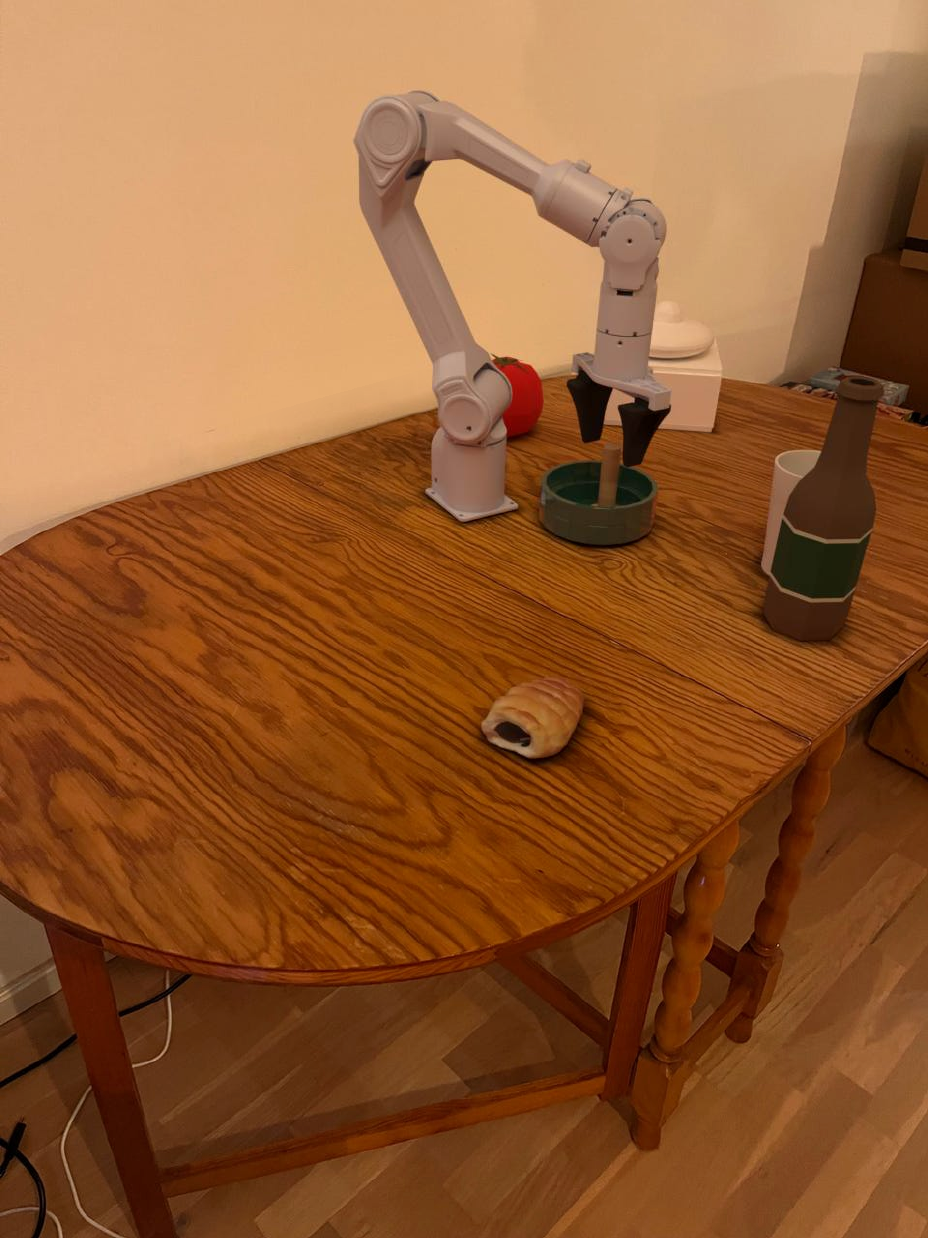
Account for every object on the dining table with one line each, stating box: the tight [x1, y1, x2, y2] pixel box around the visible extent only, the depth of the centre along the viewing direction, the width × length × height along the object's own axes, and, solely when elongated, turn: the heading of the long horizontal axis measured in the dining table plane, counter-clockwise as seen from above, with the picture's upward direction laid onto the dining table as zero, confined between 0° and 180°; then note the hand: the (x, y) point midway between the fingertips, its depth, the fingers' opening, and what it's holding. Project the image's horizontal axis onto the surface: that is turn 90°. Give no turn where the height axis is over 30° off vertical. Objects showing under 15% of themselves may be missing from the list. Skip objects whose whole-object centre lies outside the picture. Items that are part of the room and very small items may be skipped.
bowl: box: [538, 459, 659, 546], centre depth 105 cm, size 13×13×5 cm
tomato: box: [491, 353, 545, 438], centre depth 128 cm, size 13×12×11 cm
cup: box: [760, 449, 822, 576], centre depth 95 cm, size 8×8×12 cm
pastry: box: [480, 675, 585, 759], centre depth 74 cm, size 9×7×4 cm
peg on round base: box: [590, 442, 623, 507], centre depth 104 cm, size 4×4×9 cm
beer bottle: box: [762, 375, 885, 642], centre depth 83 cm, size 8×8×24 cm
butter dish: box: [604, 300, 723, 433], centre depth 136 cm, size 18×18×16 cm
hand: (611, 452), depth 102 cm, fingers open, 7 cm apart
